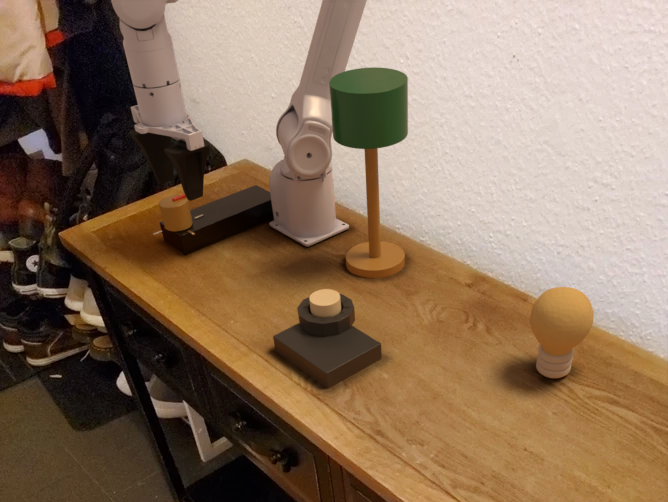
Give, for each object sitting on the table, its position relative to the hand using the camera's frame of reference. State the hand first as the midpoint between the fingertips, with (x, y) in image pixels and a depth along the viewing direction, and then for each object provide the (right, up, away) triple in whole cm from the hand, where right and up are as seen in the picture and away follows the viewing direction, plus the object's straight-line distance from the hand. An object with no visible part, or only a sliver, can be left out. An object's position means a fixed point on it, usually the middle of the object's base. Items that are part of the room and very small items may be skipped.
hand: (180, 189), depth 101 cm
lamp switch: (+20, -20, -14) cm, 32 cm away
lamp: (+27, -10, 0) cm, 28 cm away
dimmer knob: (-1, -3, +5) cm, 6 cm away
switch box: (+21, -24, -14) cm, 35 cm away
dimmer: (+3, -3, +9) cm, 10 cm away
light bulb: (+46, -28, -18) cm, 57 cm away
